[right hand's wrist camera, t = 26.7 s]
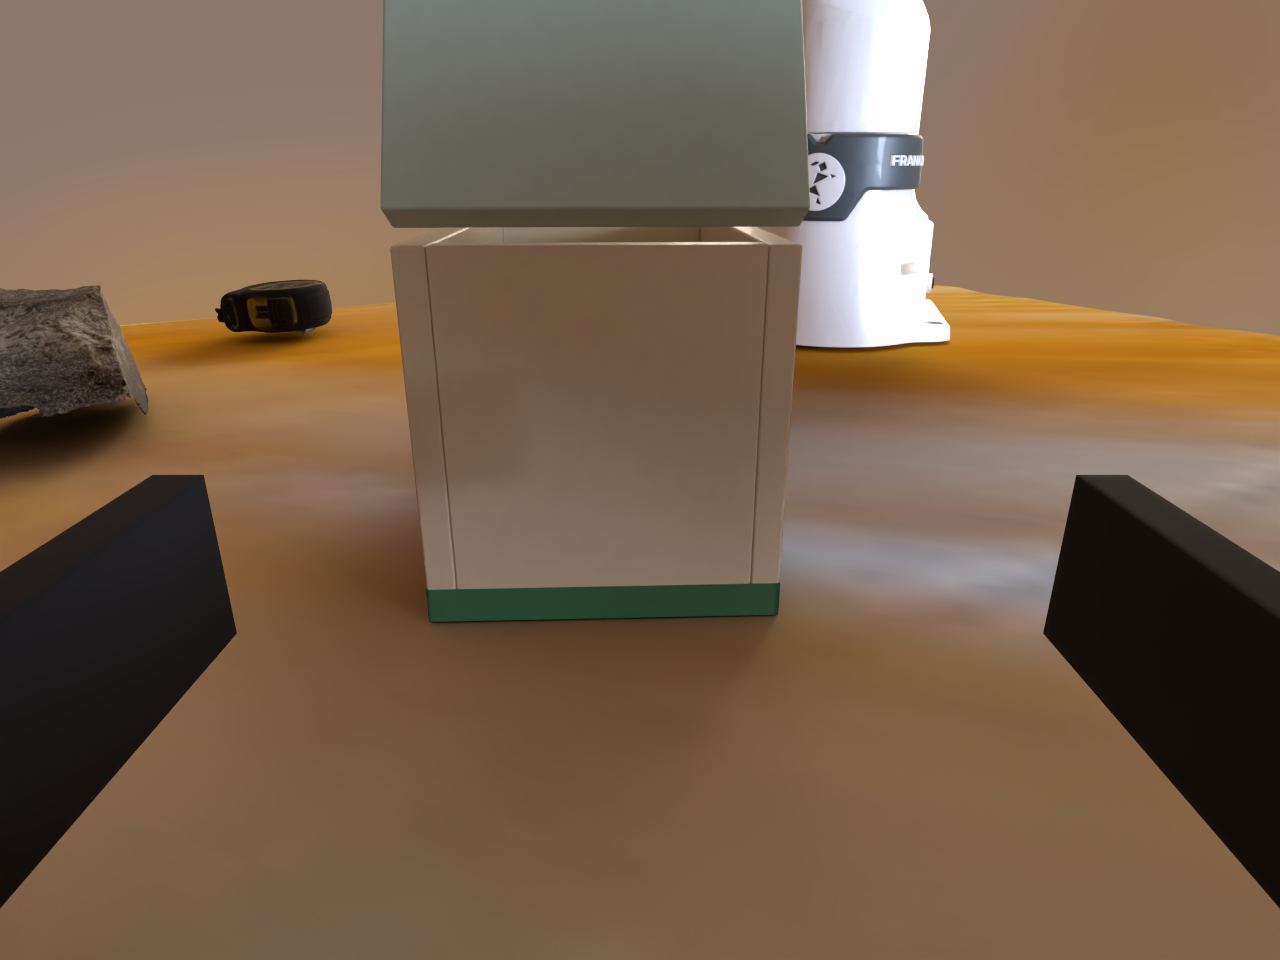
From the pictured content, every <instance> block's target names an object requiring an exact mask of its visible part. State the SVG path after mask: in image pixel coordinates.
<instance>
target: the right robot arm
mask: <svg viewBox="0 0 1280 960" xmlns="http://www.w3.org/2000/svg"><path fill="white" fill-rule="evenodd" d="M236 634H237V632H236V627H235V623H234V618H233V613H232V608H231V604H230V599H229V594H228V589H227V584H226V580H225V575H224V570H223V565H222V561H221V556H220V551H219V546H218V542H217V537H216V532H215V527H214V523H213V518H212V513H211V508H210V503H209V499H208V494H207V489H206V484H205V480H204V475H152V476H150V477H149V478H147V479H146V480H144V481H143V482H141V483H139V484H138V485H136V486H135V487H133V488H132V489H130V490H128V491H127V492H125V493H124V494H122V495H121V496H119V497H117V498H116V499H114V500H113V501H111V502H110V503H108V504H106V505H105V506H103V507H102V508H100V509H99V510H97V511H95V512H94V513H92V514H91V515H89V516H88V517H86V518H84V519H83V520H81V521H80V522H78V523H77V524H75V525H73V526H72V527H70V528H69V529H67V530H66V531H64V532H63V533H61V534H59V535H58V536H56V537H55V538H53V539H52V540H50V541H48V542H47V543H45V544H44V545H42V546H41V547H39V548H37V549H36V550H34V551H33V552H31V553H30V554H28V555H26V556H25V557H23V558H22V559H20V560H19V561H17V562H15V563H14V564H12V565H11V566H9V567H8V568H6V569H4V570H3V571H1V572H0V908H1V907H2V906H3V904H4V903H5V902H6V901H7V900H8V899H9V897H10V896H11V895H12V894H13V893H14V892H15V890H16V889H17V888H18V887H19V886H20V885H21V883H22V882H23V881H24V880H25V879H26V878H27V877H28V875H29V874H30V873H31V872H32V871H33V870H34V868H35V867H36V866H37V865H38V864H39V863H40V861H41V860H42V859H43V858H44V857H45V856H46V854H47V853H48V852H49V851H50V850H51V849H52V847H53V846H54V845H55V844H56V843H57V842H58V840H59V839H60V838H61V837H62V836H63V835H64V834H65V832H66V831H67V830H68V829H69V828H70V827H71V825H72V824H73V823H74V822H75V821H76V820H77V818H78V817H79V816H80V815H81V814H82V813H83V811H84V810H85V809H86V808H87V807H88V806H89V804H90V803H91V802H92V801H93V800H94V799H95V797H96V796H97V795H98V794H99V793H100V792H101V791H102V789H103V788H104V787H105V786H106V785H107V784H108V782H109V781H110V780H111V779H112V778H113V777H114V775H115V774H116V773H117V772H118V771H119V770H120V768H121V767H122V766H123V765H124V764H125V763H126V761H127V760H128V759H129V758H130V757H131V756H132V754H133V753H134V752H135V751H136V750H137V749H138V748H139V746H140V745H141V744H142V743H143V742H144V741H145V739H146V738H147V737H148V736H149V735H150V734H151V732H152V731H153V730H154V729H155V728H156V727H157V725H158V724H159V723H160V722H161V721H162V720H163V718H164V717H165V716H166V715H167V714H168V713H169V711H170V710H171V709H172V708H173V707H174V706H175V704H176V703H177V702H178V701H179V700H180V699H181V698H182V696H183V695H184V694H185V693H186V692H187V691H188V689H189V688H190V687H191V686H192V685H193V684H194V682H195V681H196V680H197V679H198V678H199V677H200V675H201V674H202V673H203V672H204V671H205V670H206V668H207V667H208V666H209V665H210V664H211V663H212V661H213V660H214V659H215V658H216V657H217V656H218V655H219V653H220V652H221V651H222V650H223V649H224V648H225V646H226V645H227V644H228V643H229V642H230V641H231V639H232V638H233V637H234V636H235V635H236ZM1043 634H1044V635H1045V636H1046V637H1047V638H1048V639H1049V641H1050V642H1051V643H1052V644H1053V645H1054V646H1055V648H1056V649H1057V650H1058V651H1059V652H1060V653H1061V655H1062V656H1063V657H1064V658H1065V659H1066V660H1067V661H1068V663H1069V664H1070V665H1071V666H1072V667H1073V668H1074V670H1075V671H1076V672H1077V673H1078V674H1079V675H1080V677H1081V678H1082V679H1083V680H1084V681H1085V682H1086V684H1087V685H1088V686H1089V687H1090V688H1091V689H1092V691H1093V692H1094V693H1095V694H1096V695H1097V696H1098V698H1099V699H1100V700H1101V701H1102V702H1103V703H1104V704H1105V706H1106V707H1107V708H1108V709H1109V710H1110V711H1111V713H1112V714H1113V715H1114V716H1115V717H1116V718H1117V720H1118V721H1119V722H1120V723H1121V724H1122V725H1123V727H1124V728H1125V729H1126V730H1127V731H1128V732H1129V734H1130V735H1131V736H1132V737H1133V738H1134V739H1135V741H1136V742H1137V743H1138V744H1139V745H1140V746H1141V748H1142V749H1143V750H1144V751H1145V752H1146V753H1147V754H1148V756H1149V757H1150V758H1151V759H1152V760H1153V761H1154V763H1155V764H1156V765H1157V766H1158V767H1159V768H1160V770H1161V771H1162V772H1163V773H1164V774H1165V775H1166V777H1167V778H1168V779H1169V780H1170V781H1171V782H1172V784H1173V785H1174V786H1175V787H1176V788H1177V789H1178V791H1179V792H1180V793H1181V794H1182V795H1183V796H1184V797H1185V799H1186V800H1187V801H1188V802H1189V803H1190V804H1191V806H1192V807H1193V808H1194V809H1195V810H1196V811H1197V813H1198V814H1199V815H1200V816H1201V817H1202V818H1203V820H1204V821H1205V822H1206V823H1207V824H1208V825H1209V827H1210V828H1211V829H1212V830H1213V831H1214V832H1215V834H1216V835H1217V836H1218V837H1219V838H1220V839H1221V840H1222V842H1223V843H1224V844H1225V845H1226V846H1227V847H1228V849H1229V850H1230V851H1231V852H1232V853H1233V854H1234V856H1235V857H1236V858H1237V859H1238V860H1239V861H1240V863H1241V864H1242V865H1243V866H1244V867H1245V868H1246V870H1247V871H1248V872H1249V873H1250V874H1251V875H1252V877H1253V878H1254V879H1255V880H1256V881H1257V882H1258V884H1259V885H1260V886H1261V887H1262V888H1263V889H1264V890H1265V892H1266V893H1267V894H1268V895H1269V896H1270V897H1271V899H1272V900H1273V901H1274V902H1275V903H1276V904H1277V906H1278V907H1279V908H1280V572H1279V571H1277V570H1276V569H1274V568H1272V567H1271V566H1269V565H1268V564H1266V563H1265V562H1263V561H1261V560H1260V559H1258V558H1257V557H1255V556H1254V555H1252V554H1250V553H1249V552H1247V551H1246V550H1244V549H1243V548H1241V547H1239V546H1238V545H1236V544H1235V543H1233V542H1232V541H1230V540H1228V539H1227V538H1225V537H1224V536H1222V535H1221V534H1219V533H1217V532H1216V531H1214V530H1213V529H1211V528H1210V527H1208V526H1207V525H1205V524H1203V523H1202V522H1200V521H1199V520H1197V519H1196V518H1194V517H1192V516H1191V515H1189V514H1188V513H1186V512H1185V511H1183V510H1181V509H1180V508H1178V507H1177V506H1175V505H1174V504H1172V503H1170V502H1169V501H1167V500H1166V499H1164V498H1163V497H1161V496H1159V495H1158V494H1156V493H1155V492H1153V491H1152V490H1150V489H1148V488H1147V487H1145V486H1144V485H1142V484H1141V483H1139V482H1137V481H1136V480H1134V479H1133V478H1131V477H1130V476H1128V475H1076V480H1075V484H1074V489H1073V494H1072V499H1071V503H1070V508H1069V513H1068V518H1067V523H1066V527H1065V532H1064V537H1063V542H1062V546H1061V551H1060V556H1059V561H1058V565H1057V570H1056V575H1055V580H1054V584H1053V589H1052V594H1051V599H1050V604H1049V608H1048V613H1047V618H1046V623H1045V627H1044V632H1043Z"/></svg>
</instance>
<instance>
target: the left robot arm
mask: <svg viewBox="0 0 1280 960" xmlns="http://www.w3.org/2000/svg"><path fill="white" fill-rule="evenodd" d="M802 17H803V42H804V67H805V92H806V117H807V142H808V167H809V192H810V208H809V210H808V212H807V214H806V216H805V217H804V219H803V221H802V223H801V225H800V226H798V227H758V228H760V229H763V230H765V231H768V232H770V233H773V234H775V235H778V236H780V237H783V238H785V239H788V240H790V241H793V242H795V243H798V244H800V245H802V248H803V249H802V263H801V278H800V292H799V306H798V320H797V335H796V345H802V346H816V347H877V346H889V345H896V344H903V343H912V342H940V341H948V340H950V326H949V325H948V323H947V322H946V321H945V319H944V318H943V316H942V315H941V314H940V312H939V311H938V309H937V308H936V307H935V305H934V304H933V302H932V301H930V300H927V299H925V295H926V292H930V291H931V288H933V285H934V277H933V275H932V274H929V273H928V270H929V260H930V251H931V243H932V234H933V222H931V221H930V220H928V216H927V215H926V214H925V213H924V212H923V211H922V210H921V208H920V207H919V205H918V203H917V201H916V198H915V191H914V189H916V188H918V187H919V186H920V177H921V167H922V166H923V160H924V156H922V154H923V138H922V136H920V135H918V132H919V123H920V114H921V106H922V97H923V88H924V80H925V70H926V62H927V53H928V45H929V36H930V23H929V18H928V14H927V11H926V8H925V6H924V4H923V1H922V0H802Z"/></svg>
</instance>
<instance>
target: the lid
mask: <svg viewBox="0 0 1280 960" xmlns="http://www.w3.org/2000/svg"><path fill="white" fill-rule="evenodd" d="M382 75H383V76H382V144H381V210H382V211H383V213H384V214H385V216H386V217H387V219H388V221H389V222H390V224H391V225H392V227H394V228H490V227H798V226H800V225H801V223H802V221H803V219H804V217H805V216H806V214H807V212H808V210H809V208H810V192H809V167H808V142H807V117H806V92H805V67H804V42H803V17H802V0H384V4H383V73H382Z"/></svg>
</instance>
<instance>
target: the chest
mask: <svg viewBox="0 0 1280 960" xmlns="http://www.w3.org/2000/svg"><path fill="white" fill-rule="evenodd" d="M802 249H803V248H802V245H800V244H798V243H795V242H793V241H790V240H788V239H785V238H783V237H780V236H778V235H775V234H773V233H770V232H768V231H765V230H763V229H760V228H758V227H490V228H440V229H437V230H434V231H432V232H429V233H426V234H423V235H421V236H418V237H415V238H413V239H410V240H407V241H405V242H402V243H399V244H397V245H394V246H392V247H391V249H390V251H391V260H392V270H393V279H394V288H395V298H396V307H397V316H398V325H399V335H400V344H401V353H402V363H403V372H404V381H405V390H406V400H407V409H408V418H409V427H410V437H411V446H412V455H413V465H414V474H415V483H416V492H417V502H418V511H419V520H420V529H421V539H422V548H423V557H424V566H425V576H426V585H427V589H426V595H427V604H428V613H429V622H445V621H494V620H543V619H592V618H641V617H690V616H739V615H778V606H779V592H780V582H779V577H780V563H781V549H782V535H783V520H784V506H785V492H786V477H787V463H788V449H789V435H790V420H791V406H792V392H793V378H794V363H795V349H796V335H797V320H798V306H799V292H800V278H801V263H802Z"/></svg>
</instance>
